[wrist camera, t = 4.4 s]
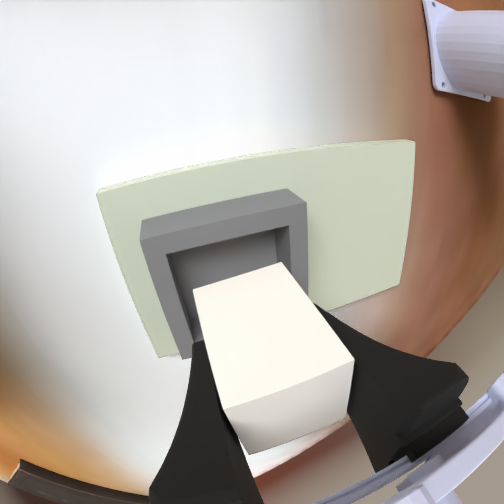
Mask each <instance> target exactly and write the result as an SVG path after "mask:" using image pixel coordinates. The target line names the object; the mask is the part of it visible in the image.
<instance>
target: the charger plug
mask: <svg viewBox="0 0 504 504" xmlns="http://www.w3.org/2000/svg"><path fill="white" fill-rule="evenodd" d="M193 294H194V299H195V303H196V307H197V312H198V316H199V320H200V324H201V329H202V333H203V337H204V341H205V345H206V349H207V353H208V357H209V360H210V364H211V368H212V372H213V375H214V379H215V383H216V386H217V390H218V393H219V397H220V400H221V404H222V407H223V410H224V412H225V414H226V416H227V417H228V419H229V421H230V423H231V425H232V427H233V428H234V430H235V432H236V434H237V435H238V437H239V439H240V441H241V442H242V444H243V446H244V448H245V449H246V451H247V453H248V454H249V455H251V454H254V453H258V452H261V451H264V450H267V449H270V448H273V447H276V446H278V445H281V444H284V443H287V442H289V441H292V440H295V439H297V438H300V437H302V436H305V435H307V434H310V433H312V432H315V431H317V430H319V429H322V428H324V427H326V426H329V425H331V424H333V423H335V422H337V421H340V420H342V419H344V418H345V416H346V411H347V406H348V400H349V394H350V388H351V381H352V375H353V368H354V360H355V359H354V358H353V357H352V355H351V354H350V352H349V351H348V350H347V348H346V347H345V346H344V344H343V343H342V342H341V340H340V339H339V338H338V336H337V335H336V334H335V332H334V331H333V330H332V328H331V327H330V325H329V324H328V323H327V321H326V320H325V319H324V317H323V316H322V315H321V313H320V312H319V311H318V309H317V308H316V307H315V305H314V304H313V303H312V301H311V300H310V299H309V297H308V296H307V295H306V294H305V292H304V291H303V290H302V288H301V287H300V286H299V284H298V283H297V282H296V280H295V279H294V278H293V276H292V275H291V274H290V272H289V271H288V270H287V268H286V267H285V266H284V265H283V263H282V262H280V263H276V264H273V265H270V266H267V267H264V268H261V269H257V270H254V271H251V272H248V273H245V274H241V275H238V276H235V277H232V278H229V279H225V280H222V281H219V282H216V283H212V284H209V285H206V286H203V287H199V288H196V289H193Z"/></svg>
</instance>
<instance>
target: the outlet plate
mask: <svg viewBox="0 0 504 504" xmlns="http://www.w3.org/2000/svg"><path fill="white" fill-rule="evenodd" d="M414 161H415V142H414V141H410V140H406V139H400V140H379V141H363V142H350V143H338V144H327V145H318V146H309V147H301V148H293V149H285V150H278V151H271V152H264V153H258V154H251V155H245V156H239V157H234V158H228V159H223V160H217V161H212V162H207V163H202V164H197V165H192V166H188V167H183V168H179V169H174V170H170V171H166V172H161V173H157V174H153V175H149V176H145V177H141V178H137V179H133V180H130V181H126V182H122V183H119V184H115V185H111V186H108V187H104V188H101V189H99V191H98V192H97V194H96V195H97V199H98V202H99V206H100V209H101V212H102V216H103V219H104V222H105V225H106V228H107V232H108V235H109V238H110V241H111V244H112V246H113V249H114V252H115V255H116V258H117V261H118V263H119V266H120V269H121V271H122V274H123V277H124V279H125V282H126V284H127V287H128V290H129V292H130V295H131V297H132V299H133V302H134V304H135V307H136V309H137V311H138V314H139V316H140V318H141V321H142V323H143V325H144V327H145V330H146V332H147V334H148V336H149V338H150V340H151V343H152V345H153V347H154V349H155V351H156V353H157V355H158V357H159V358H161V357H166V356H170V355H174V354H179V353H180V355H181V357H182V360H183V359H187V358H191V357H192V344H193V343H194V342H198V341H201V340H204V337H203V333H202V329H201V324H200V320H199V316H198V312H197V307H196V303H195V299H194V294H193V289H196V288H199V287H203V286H206V285H209V284H212V283H216V282H219V281H222V280H225V279H229V278H232V277H235V276H238V275H241V274H245V273H248V272H251V271H254V270H257V269H261V268H264V267H267V266H270V265H273V264H276V263H280V262H282V263H283V265H284V266H285V267H286V268H287V270H288V271H289V272H290V274H291V275H292V276H293V278H294V279H295V280H296V282H297V283H298V284H299V286H300V287H301V288H302V290H303V291H304V292H305V294H306V295H307V296H308V297H309V299H310V300H311V301H312V303H315V304H317V305H318V306H319V307H321V308H322V309H324V310H325V311H328V310H331V309H334V308H337V307H340V306H343V305H345V304H348V303H351V302H354V301H357V300H359V299H362V298H365V297H367V296H370V295H373V294H375V293H378V292H380V291H383V290H386V289H388V288H391V287H393V286H396V285H398V284H399V281H400V276H401V271H402V266H403V260H404V254H405V248H406V241H407V234H408V227H409V219H410V211H411V201H412V191H413V178H414Z"/></svg>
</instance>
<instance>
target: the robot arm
mask: <svg viewBox="0 0 504 504" xmlns="http://www.w3.org/2000/svg"><path fill="white" fill-rule="evenodd" d="M423 6H424V12H425V17H426V24H427V30H428V38H429V46H430V55H431V66H432V81H433V87H434V89H435V90H438V91H443V92H449V93H454V94H458V95H463V96H467V97H472V98H476V99H480V100H484V101H488V102H490V101H491V96H494V97H499V98H504V11H497V10H476V11H455V10H453V9H451V8H449V7H447V6H445V5H443V4H441V3H439V2H437V1H434V0H423ZM313 304H314V305H315V307H316V308H317V309H318V311H319V312H320V313H321V315H322V316H323V317H324V319H325V320H326V321H327V323H328V324H329V325H330V327H331V328H332V330H333V331H334V332H335V334H336V335H337V336H338V338H339V339H340V340H341V342H342V343H343V344H344V346H345V347H346V348H347V350H348V351H349V352H350V354H351V355H352V357H353V358H354V359H355V360H354V368H353V375H352V381H351V388H350V394H349V400H348V406H347V413H348V414H349V416H350V418H351V420H352V422H353V424H354V426H355V428H356V430H357V432H358V434H359V437H360V439H361V441H362V443H363V445H364V447H365V449H366V452H367V454H368V456H369V459H370V461H371V463H372V466H373V468H374V471H375V472H376V473H375V474H374V475H372V476H370V477H368V478H366V479H364V480H362V481H360V482H358V483H357V484H354V485H352V486H350V487H348V488H346V489H344V490H342V491H340V492H338V493H335V494H333V495H331V496H328V497H326V498H324V499H321V500H319V501H316V502H314V503H311V504H351V503H353V502H355V501H357V500H359V499H361V498H363V497H365V496H367V495H369V494H371V493H372V492H374V491H376V490H378V489H380V488H382V487H383V486H385V485H387V484H389V483H390V482H392V481H394V480H395V479H397V478H399V477H400V476H402V475H404V474H405V473H407V472H408V471H410V470H411V469H413V468H414V467H416V466H417V465H419V464H420V463H422V462H423V461H425V460H426V461H425V463H424V464H423V465H422V466H420V467H419V468H418V469H416V470H415V471H414V472H412V473H411V474H409V475H408V476H407V478H406V479H404V480H403V481H402V482H401V483H400V484H398V485H397V486H396V488H397V490H398V491H399V493H397V494H396V495H394V496H392V497H391V498H389V499H387V500H385V501H384V502H382V503H380V504H463V503H462V502H461V500H460V499H459V497H458V496H457V494H456V493H455V491H454V490H453V489H454V488H455V487H457V486H458V485H459V484H460V483H461V482H462V481H463V480H465V479H466V478H467V477H468V476H469V475H470V474H471V473H472V472H473V471H474V470H475V469H476V468H477V467H478V466H479V465H480V464H481V463H482V462H483V461H484V460H485V459H486V458H487V457H488V456H489V455H490V454H491V453H492V452H493V451H494V450H495V449H496V448H497V447H498V445H499V444H500V443H501V442H502V441H503V440H504V372H503V373H502V374H501V375H500V376H499V377H498V378H497V379H496V380H495V381H494V383H493V384H492V385H491V386H490V387H489V389H488V390H487V392H486V393H485V394H484V395H483V396H482V397H481V398H480V399H479V400H478V401H477V402H476V403H475V404H473V406H471V407H470V408H469V409H468V410H467V411H466V412H465V411H464V410H463V409H462V408H461V405H462V402H461V400H460V399H459V398H458V397H459V396H460V394H461V393H462V391H463V390H464V388H465V386H466V385H467V383H468V379H469V377H468V376H467V375H466V374H465V372H464V371H463V370H462V369H461V368H460V367H459V366H458V365H457V364H456V363H451V362H444V361H437V360H431V359H427V358H423V357H419V356H415V355H412V354H408V353H405V352H402V351H399V350H396V349H394V348H391V347H388V346H386V345H384V344H381V343H379V342H377V341H375V340H373V339H371V338H369V337H367V336H365V335H363V334H362V333H360V332H358V331H356V330H354V329H353V328H351V327H350V326H348V325H346V324H345V323H343V322H341V321H340V320H338V319H337V318H335V317H334V316H332V315H331V314H329V313H328V312H326V311H325V310H324V309H322V308H321V307H319V306H318V305H317V304H315V303H313ZM149 504H264V503H263V500H262V498H261V495H260V493H259V491H258V488H257V486H256V484H255V481H254V479H253V476H252V474H251V471H250V469H249V466H248V463H247V461H246V458H245V455H244V453H243V450H242V447H241V444H240V442H239V439H238V435H237V434H236V432H235V430H234V428H233V427H232V425H231V423H230V421H229V419H228V417H227V416H226V414H225V412H224V410H223V407H222V404H221V400H220V397H219V393H218V390H217V386H216V383H215V379H214V375H213V372H212V368H211V364H210V360H209V357H208V353H207V349H206V345H205V341H204V340H201V341H198V342H194V343H193V344H192V361H191V371H190V378H189V384H188V390H187V394H186V399H185V404H184V408H183V412H182V415H181V419H180V422H179V425H178V428H177V431H176V434H175V437H174V439H173V442H172V444H171V447H170V449H169V451H168V453H167V456H166V458H165V460H164V462H163V464H162V466H161V468H160V470H159V472H158V474H157V475H156V477H155V479H154V481H153V482H152V484H151V486H150V488H149Z"/></svg>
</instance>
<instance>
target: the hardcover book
mask: <svg viewBox="0 0 504 504" xmlns="http://www.w3.org/2000/svg"><path fill="white" fill-rule="evenodd" d="M8 484H9V485H11V486H14V487H16V488H19V489H21V490H23V491H26V492H29V493H31V494H34V495H36V496H39V497H42V498H45V499H48V500H51V501H54V502H57V503H61V504H149V497H148V496H144V495H138V494H133V493H127V492H123V491H118V490H113V489H109V488H105V487H101V486H97V485H93V484H89V483H86V482H82V481H79V480H76V479H73V478H69V477H66V476H63V475H60V474H58V473H55V472H52V471H49V470H47V469H44V468H41V467H39V466H36V465H34V464H32V463H29V462H27V461H25V460H22V459H20V463H19V465H18V466H17V467H16V469H15V470H14V472H13V473H12V475H11V476H10V481H9V482H8Z"/></svg>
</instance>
